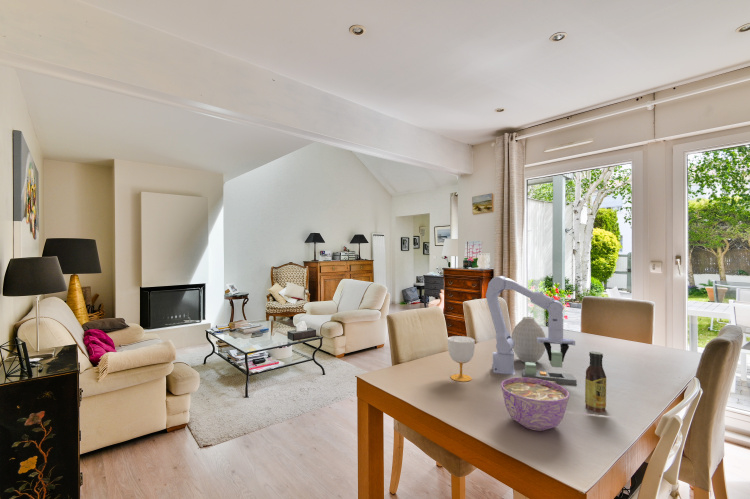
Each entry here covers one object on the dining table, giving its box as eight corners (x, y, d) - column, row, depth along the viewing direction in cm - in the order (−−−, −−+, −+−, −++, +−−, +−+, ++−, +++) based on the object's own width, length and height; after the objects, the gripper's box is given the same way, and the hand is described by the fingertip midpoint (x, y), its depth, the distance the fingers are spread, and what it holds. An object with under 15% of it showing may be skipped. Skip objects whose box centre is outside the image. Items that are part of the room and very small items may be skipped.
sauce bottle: (599, 415, 119) (599, 356, 120) (581, 408, 125) (580, 351, 125) (610, 411, 122) (610, 353, 123) (592, 404, 128) (592, 349, 128)
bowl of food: (494, 429, 110) (494, 391, 110) (507, 405, 127) (507, 373, 127) (567, 448, 99) (567, 406, 99) (571, 419, 116) (571, 384, 116)
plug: (551, 366, 150) (551, 352, 150) (550, 363, 154) (549, 350, 154) (562, 367, 148) (562, 353, 148) (560, 364, 152) (560, 350, 152)
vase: (548, 359, 181) (547, 316, 182) (543, 368, 168) (543, 321, 168) (514, 355, 190) (514, 313, 190) (508, 362, 176) (508, 318, 177)
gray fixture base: (524, 381, 151) (524, 365, 151) (522, 374, 159) (522, 360, 159) (576, 386, 145) (576, 370, 145) (572, 379, 153) (571, 364, 153)
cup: (479, 377, 155) (479, 339, 155) (466, 385, 146) (466, 343, 147) (456, 371, 163) (456, 334, 163) (442, 378, 154) (442, 339, 155)
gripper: (538, 329, 150) (538, 361, 150) (577, 332, 146) (577, 365, 145) (536, 326, 157) (536, 357, 156) (572, 328, 152) (573, 360, 152)
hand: (555, 360), depth 151 cm, fingers closed on plug, 4 cm apart
